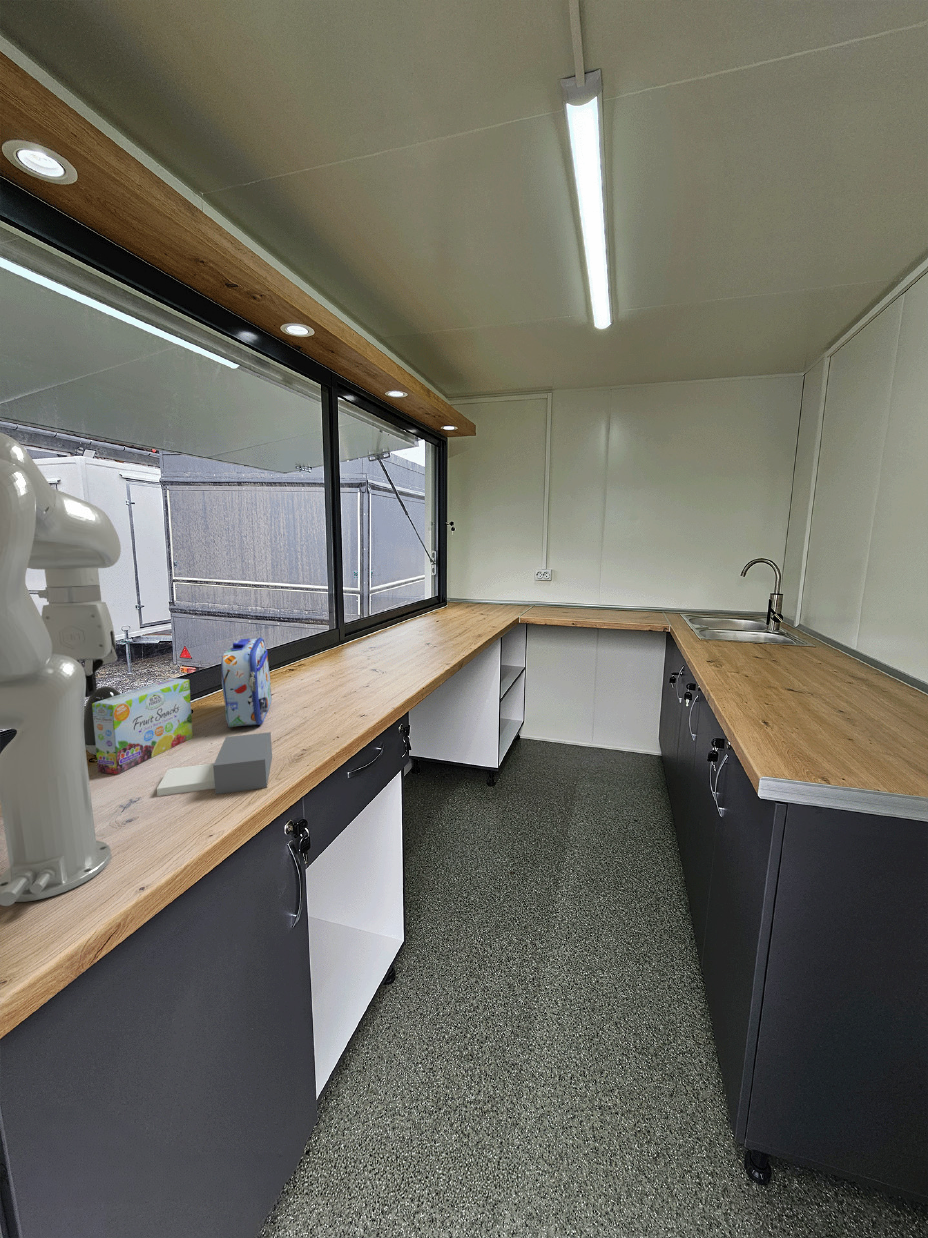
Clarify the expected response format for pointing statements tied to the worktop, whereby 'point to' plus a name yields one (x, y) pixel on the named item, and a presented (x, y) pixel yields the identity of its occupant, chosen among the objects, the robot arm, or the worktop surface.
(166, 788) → the cutting board
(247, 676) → the lunch box
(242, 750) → the gray block
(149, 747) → the snack box
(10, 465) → the robot arm
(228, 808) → the worktop surface
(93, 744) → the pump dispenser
